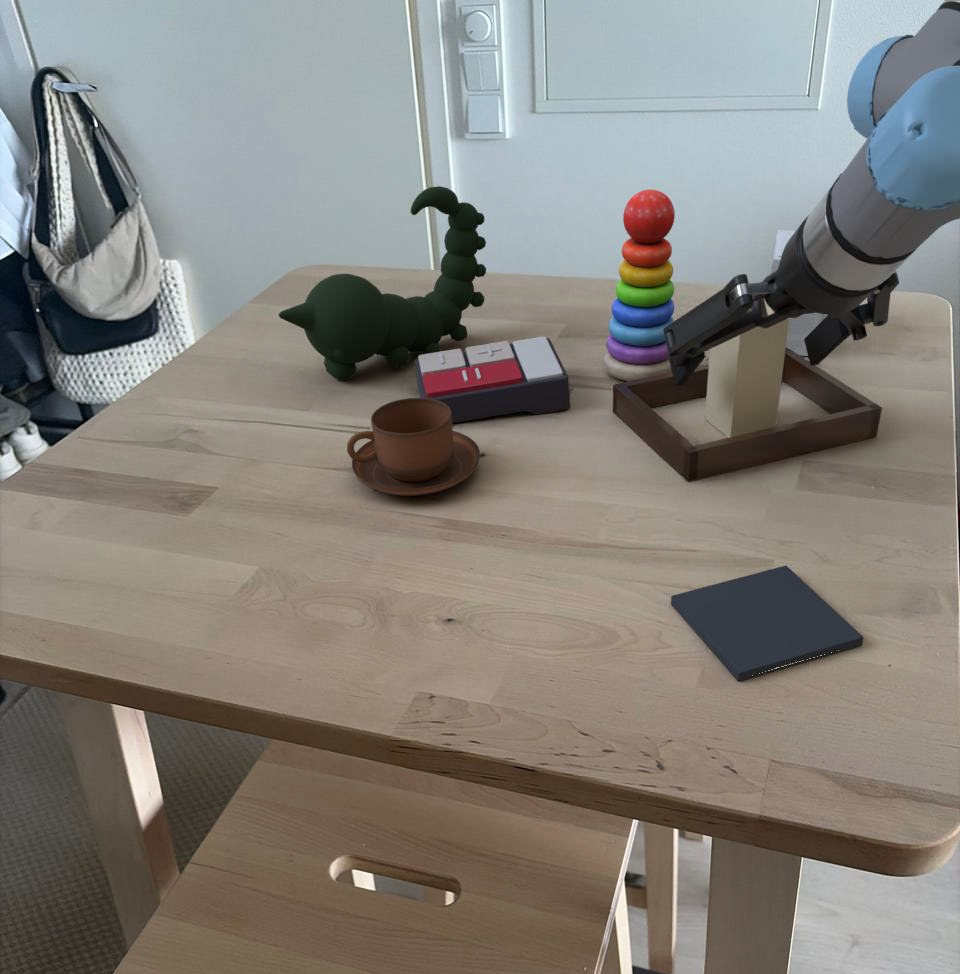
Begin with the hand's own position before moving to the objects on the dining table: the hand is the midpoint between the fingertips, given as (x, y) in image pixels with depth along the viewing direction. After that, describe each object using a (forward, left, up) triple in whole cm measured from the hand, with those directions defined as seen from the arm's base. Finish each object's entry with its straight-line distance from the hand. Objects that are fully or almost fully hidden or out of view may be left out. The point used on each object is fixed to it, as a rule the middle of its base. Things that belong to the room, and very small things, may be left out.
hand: (743, 362), depth 98 cm
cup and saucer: (+32, -4, -7) cm, 33 cm away
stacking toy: (+3, -16, -7) cm, 17 cm away
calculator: (+20, -17, -7) cm, 27 cm away
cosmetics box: (-16, -16, -7) cm, 24 cm away
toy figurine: (+27, -31, -7) cm, 41 cm away
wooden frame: (0, 0, -6) cm, 6 cm away
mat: (+15, +29, -6) cm, 33 cm away
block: (0, 0, -6) cm, 6 cm away
